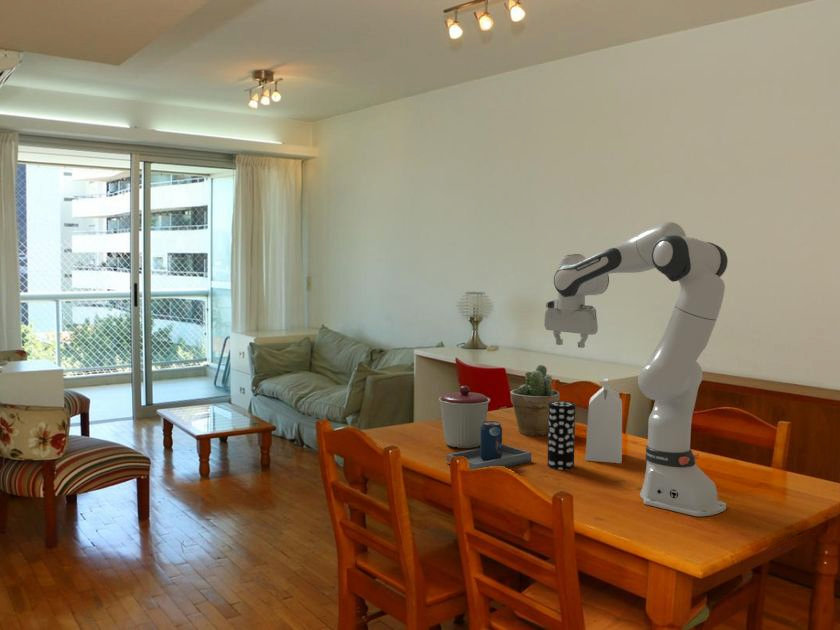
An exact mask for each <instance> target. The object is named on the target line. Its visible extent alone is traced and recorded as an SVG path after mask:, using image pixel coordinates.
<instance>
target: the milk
mask: <svg viewBox="0 0 840 630" xmlns="http://www.w3.org/2000/svg"><path fill="white" fill-rule="evenodd" d="M609 385H610V384H609V378H607V377H605V378H603V386H602V388H600V389H598V391H597V392H596V393H594V394H593V395H592V396H591V397H590V398H589V403H588V411H587V412H588V414H587V426H586V427H587V428H586V442H585V443H586V444H585V458H584V459H585V461H591V462H602V463H612V464H613V463H614V462H615V463H616V464H622V461H623V459H622V458H623V400H622V398H621V397H620V394H619V392H617V390H615V389H612V388H611V387H610V386H609ZM615 463H614V464H615Z"/></svg>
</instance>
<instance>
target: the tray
mask: <svg viewBox="0 0 840 630" xmlns="http://www.w3.org/2000/svg"><path fill="white" fill-rule="evenodd" d="M453 456H464V457H466V458H467V459H468V460H469V461H468V462H469V468H470V469H477V468H483V467H489V466H505V468H510V467H513V465H514V466H517V465H518V464H519V465H523V464H526V463H530V462H532V452H531V451H527V450H524V449H521V448H517V447H514V446H510V445H507V444H504V443H502V457H501V458H498V459H494V460H489V461H483V460H482V458H481V456H480V447H479V448H478V447H477V448H472V449H469V450H463V451H458V452H453V453H449V454H446V462H447V461H448V462H449V460H450V458H451V457H453ZM509 466H510V467H509Z"/></svg>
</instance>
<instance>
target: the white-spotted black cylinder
mask: <svg viewBox="0 0 840 630" xmlns="http://www.w3.org/2000/svg"><path fill="white" fill-rule="evenodd" d="M575 432H576V404H575V403H574V402H570V401H562V400H561V401H560V400H559V401H556V402H550V403H549V410H548V435H547V463H546V464H547V467H548V468H551V469H552V470H553V469H554V470H560V471H561V470H562V471H564V470H566V471H567V470H571V469H574V468H575V440H576V439H575V437H576V436H575V435H576V434H575Z"/></svg>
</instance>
